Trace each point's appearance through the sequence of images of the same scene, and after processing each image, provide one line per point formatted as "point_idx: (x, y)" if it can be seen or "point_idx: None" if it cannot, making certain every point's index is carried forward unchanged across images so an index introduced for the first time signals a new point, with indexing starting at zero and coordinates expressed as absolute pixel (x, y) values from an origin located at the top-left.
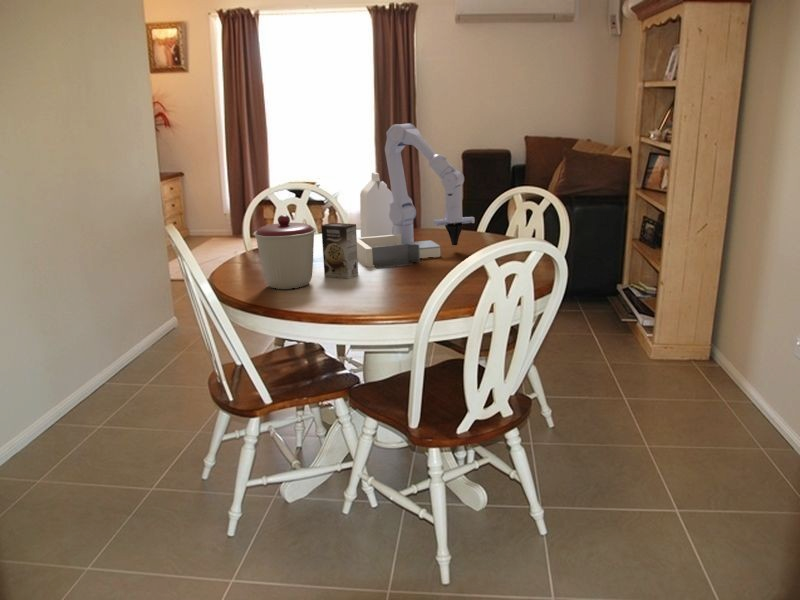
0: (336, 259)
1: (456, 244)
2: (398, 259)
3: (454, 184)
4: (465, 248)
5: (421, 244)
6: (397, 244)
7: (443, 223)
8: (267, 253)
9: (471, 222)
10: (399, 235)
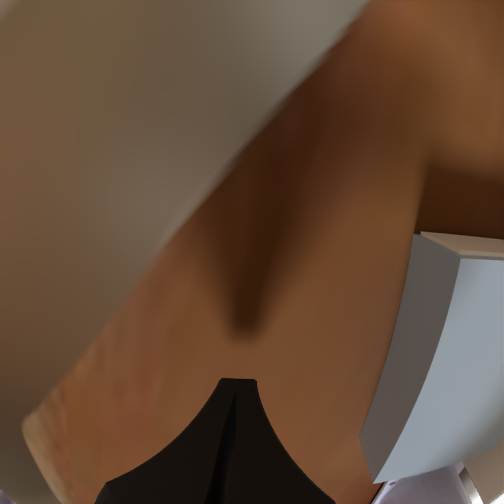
0: None
1: (228, 380)
2: None
3: None
4: (144, 405)
5: (499, 385)
6: (500, 449)
7: None
8: None
9: (3, 497)
10: (496, 490)
